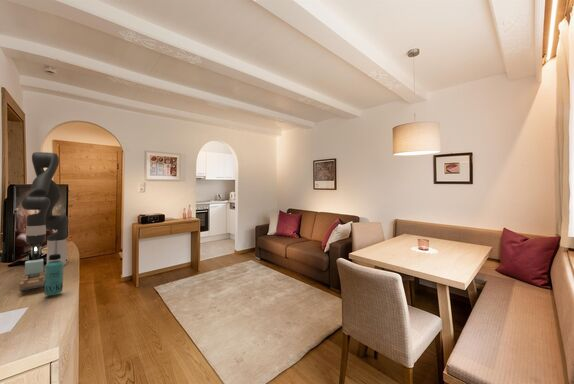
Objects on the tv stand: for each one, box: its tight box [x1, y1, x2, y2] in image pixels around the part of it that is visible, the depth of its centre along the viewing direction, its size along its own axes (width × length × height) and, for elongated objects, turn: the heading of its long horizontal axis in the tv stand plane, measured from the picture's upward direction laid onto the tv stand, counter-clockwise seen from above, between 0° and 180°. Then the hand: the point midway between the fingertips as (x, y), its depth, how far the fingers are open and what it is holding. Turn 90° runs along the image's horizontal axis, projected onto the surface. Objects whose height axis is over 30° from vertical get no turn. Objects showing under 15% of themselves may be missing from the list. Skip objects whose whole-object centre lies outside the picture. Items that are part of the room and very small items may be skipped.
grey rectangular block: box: [24, 258, 44, 277], centre depth 125 cm, size 5×6×8 cm
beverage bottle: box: [43, 254, 64, 296], centre depth 117 cm, size 6×7×20 cm
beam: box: [19, 267, 46, 292], centre depth 126 cm, size 24×10×8 cm, turn 45°
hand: (35, 265), depth 130 cm, fingers closed
